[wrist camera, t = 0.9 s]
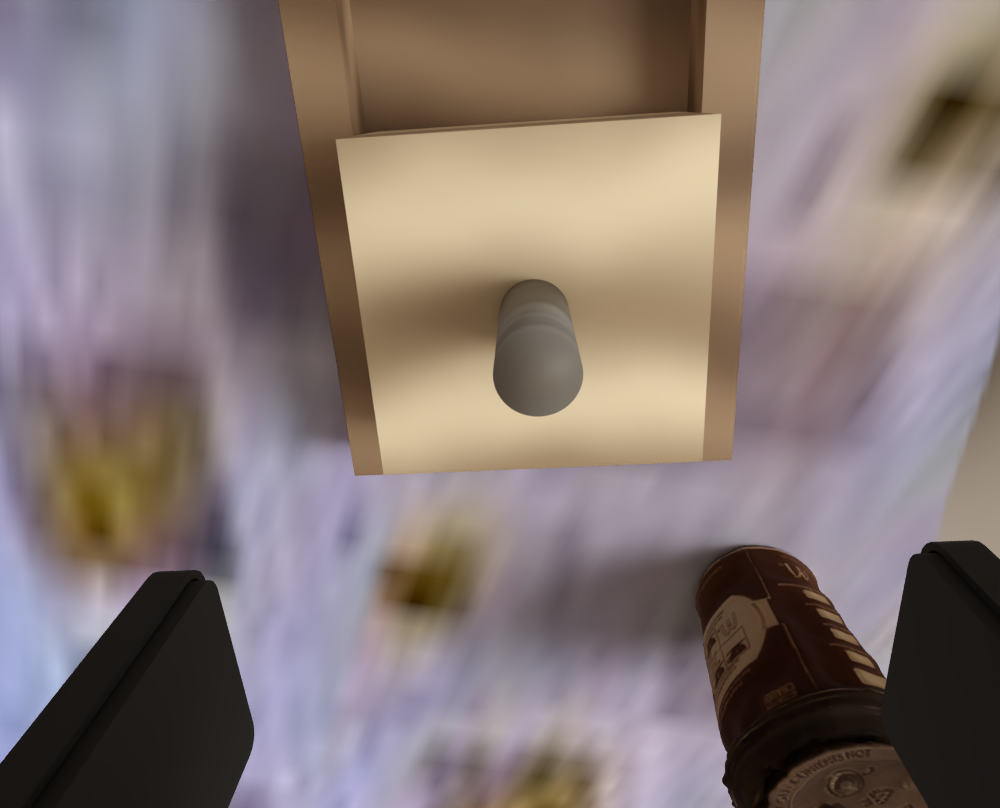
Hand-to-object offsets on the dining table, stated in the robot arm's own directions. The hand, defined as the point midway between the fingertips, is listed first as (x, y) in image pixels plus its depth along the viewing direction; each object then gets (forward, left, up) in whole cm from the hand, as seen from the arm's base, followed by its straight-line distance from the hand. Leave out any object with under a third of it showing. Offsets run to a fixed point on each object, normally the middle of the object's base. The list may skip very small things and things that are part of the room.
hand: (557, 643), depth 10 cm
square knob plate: (0, 0, -24) cm, 24 cm away
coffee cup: (+18, +11, -24) cm, 32 cm away
